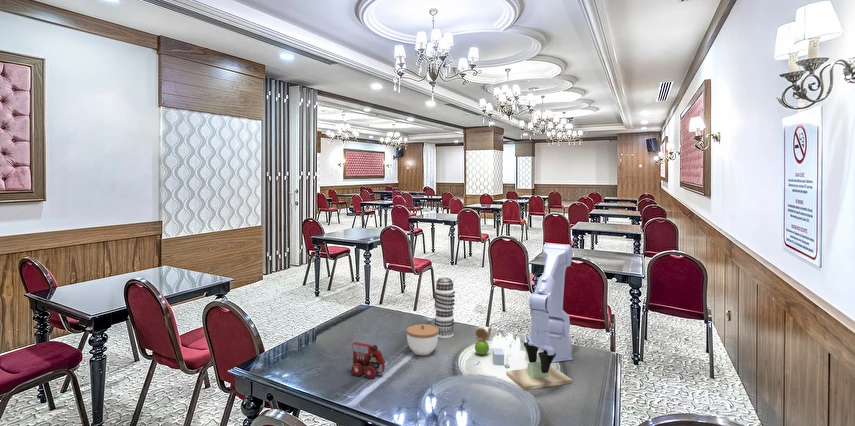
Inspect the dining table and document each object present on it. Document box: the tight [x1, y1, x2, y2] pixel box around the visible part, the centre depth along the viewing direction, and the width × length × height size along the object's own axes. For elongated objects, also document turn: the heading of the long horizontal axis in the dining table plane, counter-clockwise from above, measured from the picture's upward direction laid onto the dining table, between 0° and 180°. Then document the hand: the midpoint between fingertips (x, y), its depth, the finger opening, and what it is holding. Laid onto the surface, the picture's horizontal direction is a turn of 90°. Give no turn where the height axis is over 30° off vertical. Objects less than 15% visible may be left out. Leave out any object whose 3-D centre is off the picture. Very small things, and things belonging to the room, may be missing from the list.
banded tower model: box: [433, 277, 456, 339], centre depth 188 cm, size 9×9×25 cm
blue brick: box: [492, 348, 505, 366], centre depth 161 cm, size 6×4×4 cm, turn 176°
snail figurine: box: [474, 324, 493, 356], centre depth 167 cm, size 5×6×12 cm
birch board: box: [505, 364, 573, 391], centre depth 146 cm, size 18×12×1 cm, turn 108°
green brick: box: [527, 361, 549, 379], centre depth 146 cm, size 6×4×4 cm, turn 107°
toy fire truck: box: [350, 341, 386, 380], centre depth 149 cm, size 7×12×10 cm, turn 68°
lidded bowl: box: [406, 323, 439, 356], centre depth 169 cm, size 13×13×11 cm
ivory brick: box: [524, 350, 540, 362], centre depth 161 cm, size 6×4×4 cm, turn 27°
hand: (538, 367), depth 146 cm, fingers open, 7 cm apart
